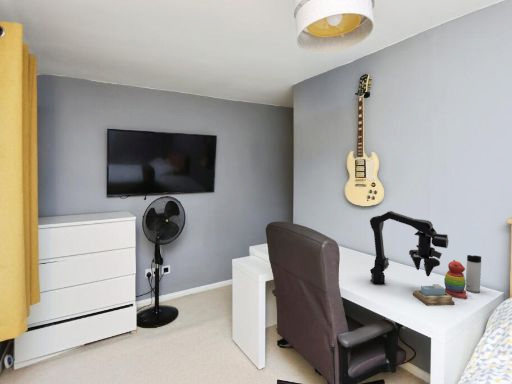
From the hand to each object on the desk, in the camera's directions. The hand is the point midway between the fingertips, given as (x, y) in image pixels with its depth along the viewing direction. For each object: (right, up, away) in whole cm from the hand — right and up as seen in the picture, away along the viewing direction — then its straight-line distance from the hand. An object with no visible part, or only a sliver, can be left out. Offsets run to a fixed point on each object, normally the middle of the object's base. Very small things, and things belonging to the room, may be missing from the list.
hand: (422, 272), depth 156 cm
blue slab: (+1, -11, -7) cm, 12 cm away
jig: (+2, -12, -6) cm, 14 cm away
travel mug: (+29, -11, +3) cm, 31 cm away
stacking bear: (+17, -11, 0) cm, 21 cm away
